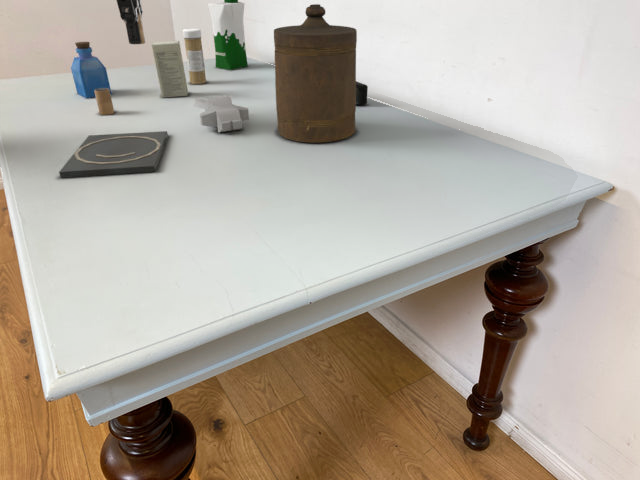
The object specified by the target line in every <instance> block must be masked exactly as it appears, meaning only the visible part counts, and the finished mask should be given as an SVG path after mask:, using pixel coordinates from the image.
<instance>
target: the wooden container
mask: <svg viewBox="0 0 640 480" xmlns="http://www.w3.org/2000/svg"><path fill="white" fill-rule="evenodd" d="M304 12H305V16H306V19H304V21H303V23H301V24H299V25H288V26H287V25H286V26H280V27H277V28H274V29H273V43H274V77H275V78H274V80H275V81H274V82H275V85H274V86H275V87H274V88H275V107H276V121H277V132H278V134H279V135H280V136H281V137H283V138H284V139H288V140H290V141H293V142H299V143H309V144H320V143H321V144H322V143H323V144H324V143H332V142H336V141H342V140H345V139H347V138H350V137H352V135H354V134H355V132H356V109H357V107H356V106H357V105H356V81H357V42H358V41H357V40H358V33H357V32H358V31H357V29H356V28H354V27H351V26H344V25H336V24H335V25H333V24H329V23H328V22H327V21H326V20H325V17H324V16H325V15H326V8H324V7H323V6H321V4H319V3H316V4H315V3H314V4H313V3H312V4H310V5H309V6H307V7H306V8H305V11H304Z"/></svg>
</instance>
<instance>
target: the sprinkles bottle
mask: <svg viewBox="0 0 640 480" xmlns="http://www.w3.org/2000/svg"><path fill="white" fill-rule="evenodd" d="M182 37H183V40H184V46H185V47H184V48H185V54H186V55H185V56H186V64H187V71H188V75H189V83H190V84H191V85H203V84H206V83H207V78H206V65H205V58H204V50H203V45H202V31H201V29H200V28H185V29H182Z"/></svg>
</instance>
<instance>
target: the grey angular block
mask: <svg viewBox="0 0 640 480" xmlns="http://www.w3.org/2000/svg"><path fill="white" fill-rule="evenodd" d="M193 107H195V108H198V109H203V110H204V111H203V112H201V113H200V114H199V120H200V125H201V126H202V127H212V128H217V133H224V132H232V131H237V130H241V129H243V122H246V121H249V119H250V114H249V113H250V111H249V108H248V107H244V106H240V105H236V104H233V101H232V98H231V96H229V95H225V94H224V95H221V96H217V97H209V98H201V97H200V98H198V97H197V98H195V99H194V102H193Z"/></svg>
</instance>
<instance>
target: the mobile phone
mask: <svg viewBox="0 0 640 480" xmlns="http://www.w3.org/2000/svg"><path fill="white" fill-rule="evenodd" d="M368 87H369V85H367V84H365V83H362V82H359V81H357V80H356V106H364V105H365V106H366V104H367V103H368Z"/></svg>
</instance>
